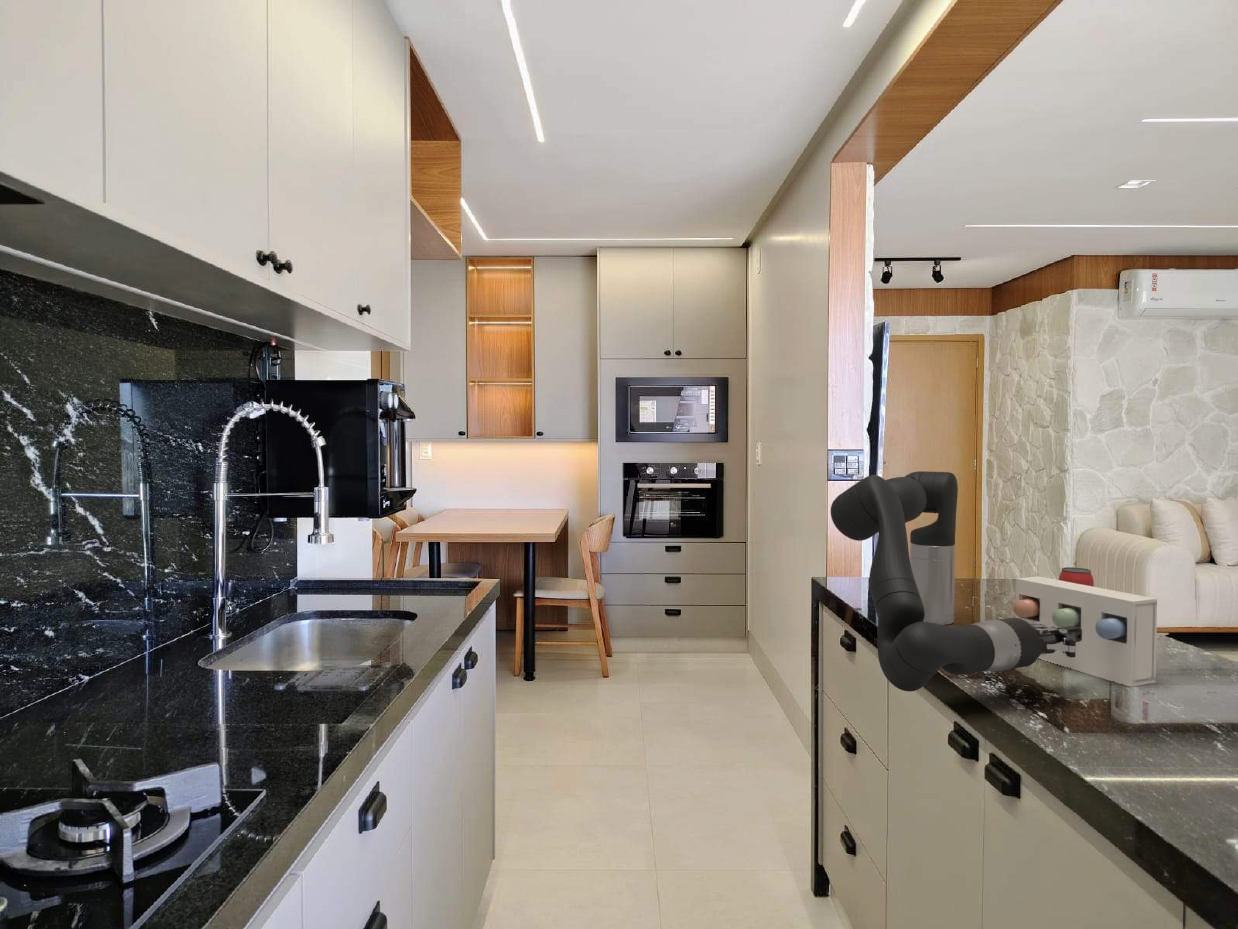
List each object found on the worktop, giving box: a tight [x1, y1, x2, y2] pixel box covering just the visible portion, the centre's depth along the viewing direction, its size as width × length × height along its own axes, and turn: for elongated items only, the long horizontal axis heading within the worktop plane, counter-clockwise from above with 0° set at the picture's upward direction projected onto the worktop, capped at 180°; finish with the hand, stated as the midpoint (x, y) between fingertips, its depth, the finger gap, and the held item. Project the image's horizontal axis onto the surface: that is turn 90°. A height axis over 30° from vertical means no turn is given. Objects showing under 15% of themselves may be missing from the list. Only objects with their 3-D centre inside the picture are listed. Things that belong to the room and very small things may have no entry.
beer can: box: [1058, 566, 1095, 587], centre depth 164 cm, size 7×7×12 cm
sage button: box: [1052, 608, 1081, 628], centre depth 131 cm, size 3×4×3 cm
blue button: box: [1095, 617, 1127, 639], centre depth 124 cm, size 3×4×3 cm
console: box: [1014, 575, 1158, 688], centre depth 133 cm, size 22×6×14 cm, turn 22°
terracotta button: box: [1012, 599, 1040, 618], centre depth 139 cm, size 3×4×3 cm
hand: (1077, 633), depth 121 cm, fingers closed
